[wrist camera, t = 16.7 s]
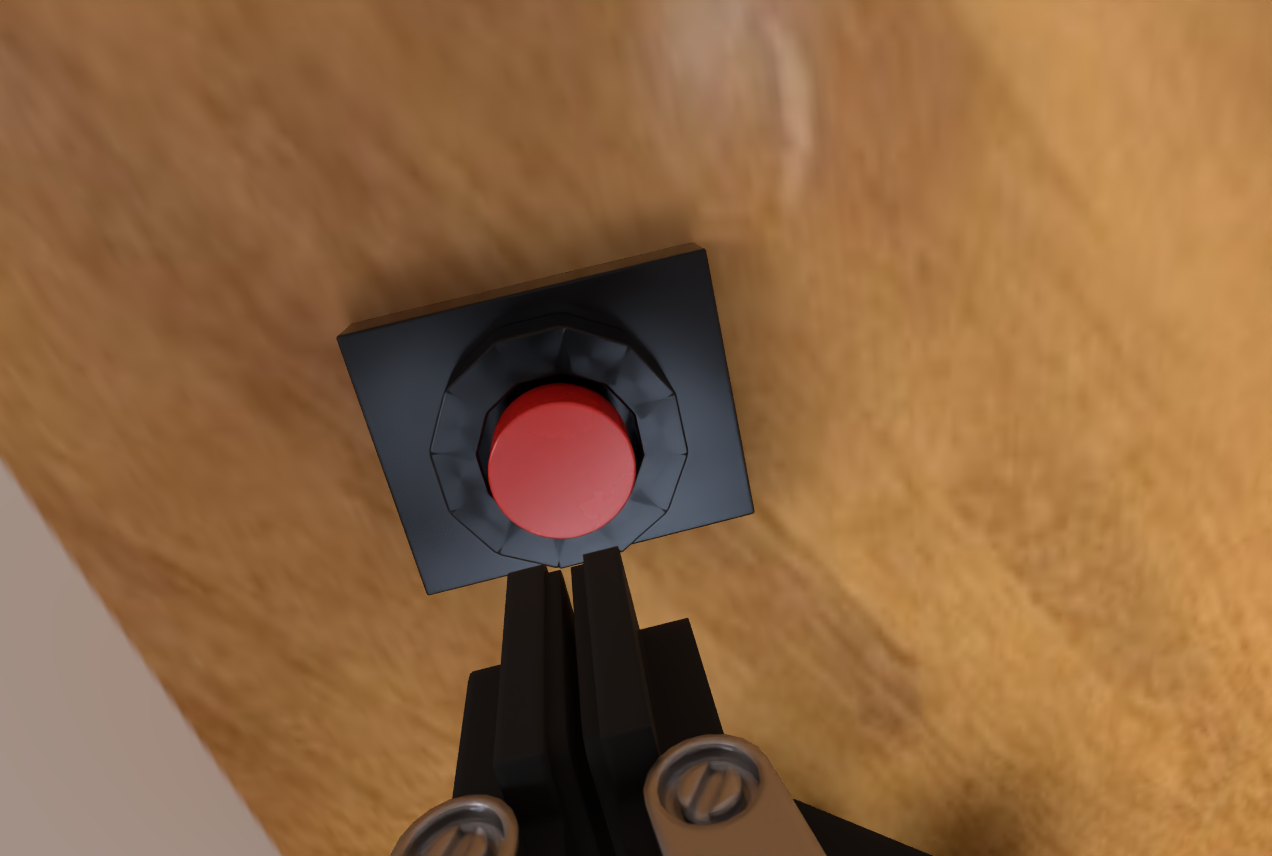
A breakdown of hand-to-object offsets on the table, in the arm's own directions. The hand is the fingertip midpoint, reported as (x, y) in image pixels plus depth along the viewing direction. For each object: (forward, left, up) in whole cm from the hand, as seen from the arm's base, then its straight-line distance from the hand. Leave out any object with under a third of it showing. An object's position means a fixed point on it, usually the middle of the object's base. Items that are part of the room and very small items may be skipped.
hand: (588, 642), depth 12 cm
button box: (0, 0, -13) cm, 13 cm away
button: (0, 0, -10) cm, 10 cm away
